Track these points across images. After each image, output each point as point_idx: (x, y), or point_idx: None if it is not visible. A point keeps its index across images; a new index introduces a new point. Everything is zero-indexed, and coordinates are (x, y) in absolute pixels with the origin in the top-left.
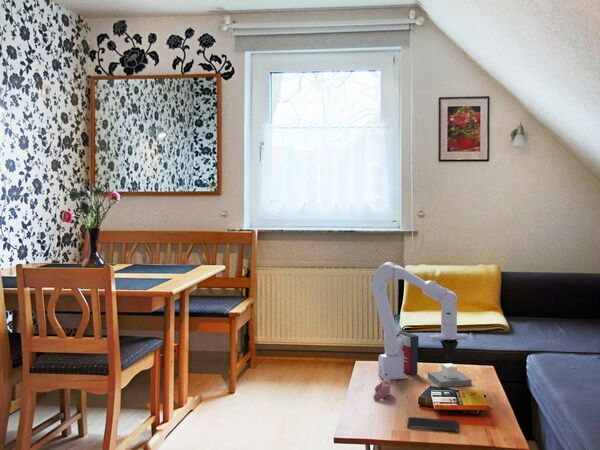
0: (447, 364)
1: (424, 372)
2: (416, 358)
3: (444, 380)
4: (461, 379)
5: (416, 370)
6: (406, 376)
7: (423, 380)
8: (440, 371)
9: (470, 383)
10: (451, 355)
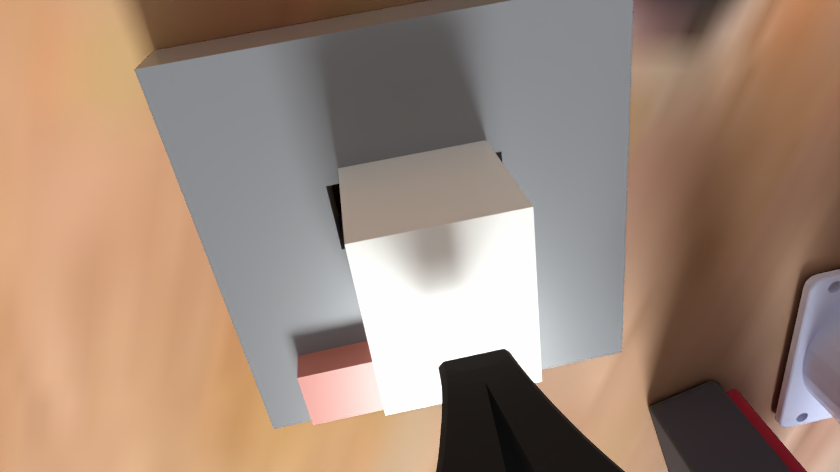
0: None
1: None
2: None
3: (556, 44)
4: (296, 80)
5: (676, 423)
6: (811, 304)
7: (680, 230)
8: None
9: (166, 52)
10: (476, 416)
